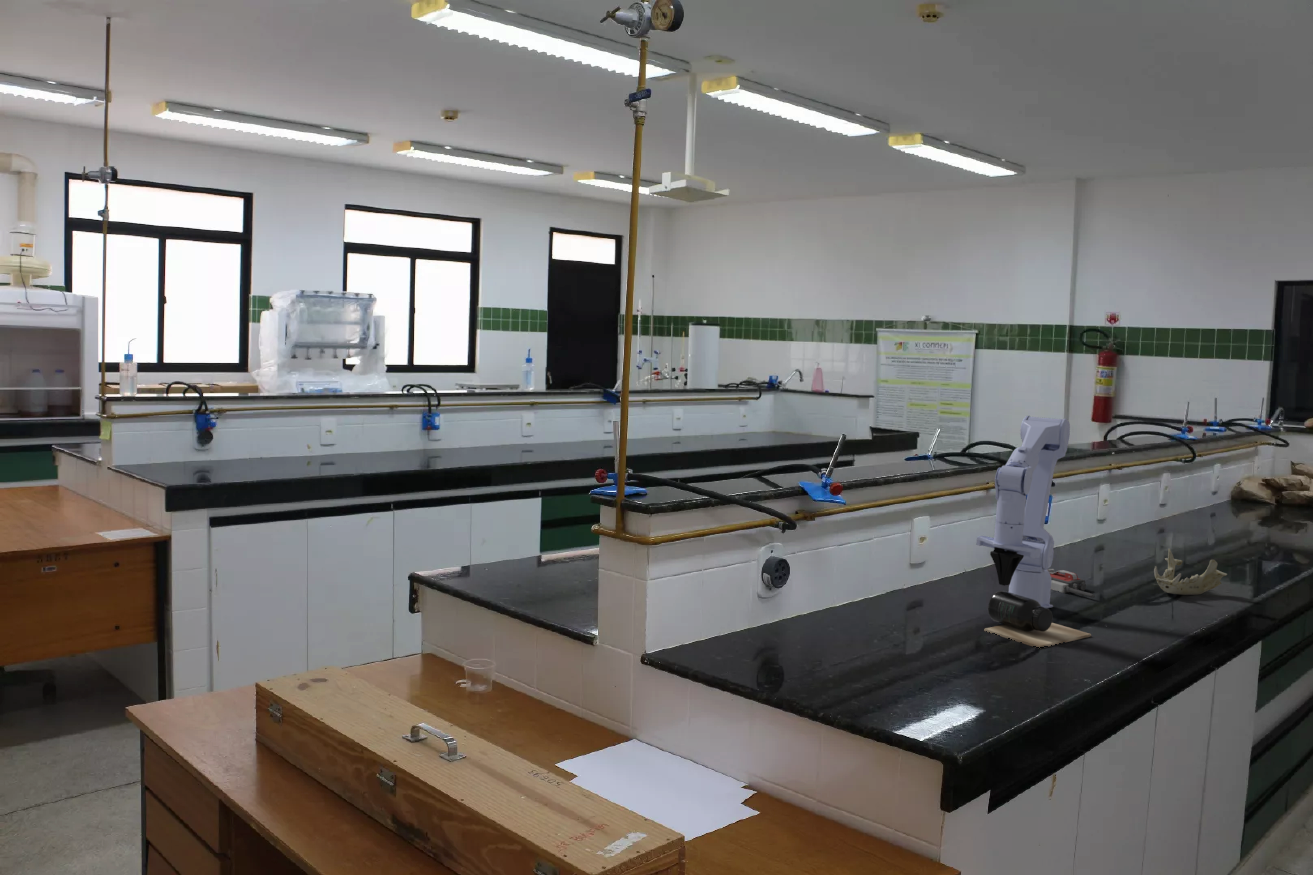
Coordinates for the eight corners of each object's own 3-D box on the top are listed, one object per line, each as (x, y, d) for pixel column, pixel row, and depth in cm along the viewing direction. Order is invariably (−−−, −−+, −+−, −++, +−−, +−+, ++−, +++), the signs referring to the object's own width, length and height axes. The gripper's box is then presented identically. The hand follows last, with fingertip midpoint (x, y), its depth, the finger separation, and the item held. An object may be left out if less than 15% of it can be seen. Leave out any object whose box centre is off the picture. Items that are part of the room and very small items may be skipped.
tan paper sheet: (1035, 620, 217) (1036, 617, 217) (1090, 636, 206) (1091, 633, 206) (984, 630, 206) (984, 628, 206) (1039, 648, 196) (1039, 645, 196)
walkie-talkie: (1021, 582, 253) (1091, 602, 236) (1022, 565, 253) (1092, 584, 236) (1043, 579, 258) (1113, 598, 241) (1044, 563, 258) (1115, 581, 241)
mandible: (1195, 605, 237) (1199, 564, 236) (1130, 591, 248) (1134, 552, 247) (1227, 595, 249) (1231, 556, 248) (1164, 582, 261) (1167, 544, 260)
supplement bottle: (1011, 592, 214) (1059, 606, 204) (1004, 622, 214) (1051, 638, 204) (991, 587, 211) (1038, 601, 200) (983, 619, 210) (1031, 634, 200)
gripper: (969, 517, 215) (964, 578, 216) (1028, 529, 203) (1022, 594, 204) (989, 515, 219) (985, 575, 220) (1048, 527, 207) (1042, 590, 208)
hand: (1004, 584), depth 213 cm, fingers closed
